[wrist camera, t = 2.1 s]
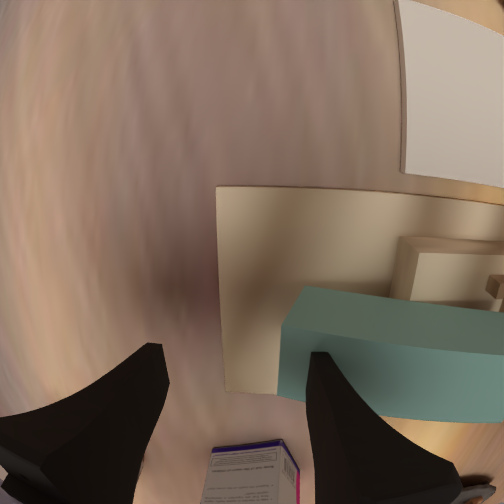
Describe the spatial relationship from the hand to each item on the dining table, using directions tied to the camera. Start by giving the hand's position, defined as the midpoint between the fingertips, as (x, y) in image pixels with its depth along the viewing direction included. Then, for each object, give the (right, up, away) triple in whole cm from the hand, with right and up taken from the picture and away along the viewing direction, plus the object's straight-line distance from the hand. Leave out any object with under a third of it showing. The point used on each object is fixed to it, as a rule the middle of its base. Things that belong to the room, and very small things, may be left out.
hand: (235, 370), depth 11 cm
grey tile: (+12, +12, 0) cm, 17 cm away
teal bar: (+8, +1, +2) cm, 8 cm away
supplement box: (+1, -12, +10) cm, 16 cm away
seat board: (+8, +1, +4) cm, 9 cm away
